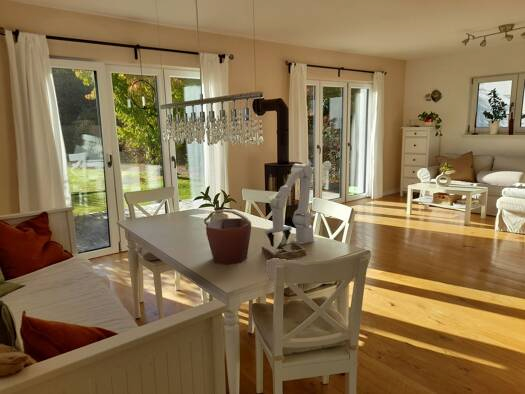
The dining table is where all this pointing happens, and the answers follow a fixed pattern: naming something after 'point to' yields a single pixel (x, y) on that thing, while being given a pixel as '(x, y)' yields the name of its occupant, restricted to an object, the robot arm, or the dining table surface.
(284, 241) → the origami crane
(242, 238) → the bucket
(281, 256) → the walnut u-shaped block
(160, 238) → the dining table surface
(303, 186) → the robot arm
